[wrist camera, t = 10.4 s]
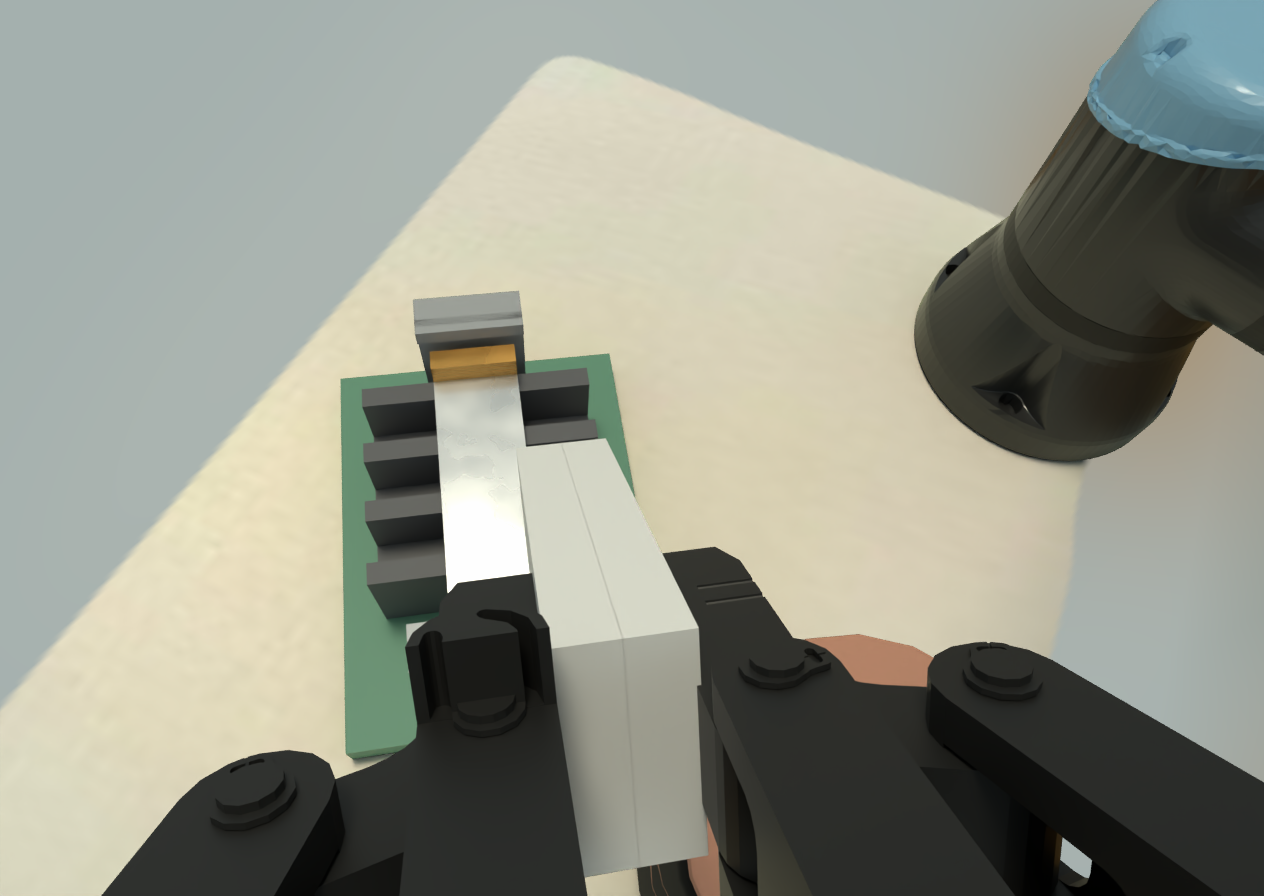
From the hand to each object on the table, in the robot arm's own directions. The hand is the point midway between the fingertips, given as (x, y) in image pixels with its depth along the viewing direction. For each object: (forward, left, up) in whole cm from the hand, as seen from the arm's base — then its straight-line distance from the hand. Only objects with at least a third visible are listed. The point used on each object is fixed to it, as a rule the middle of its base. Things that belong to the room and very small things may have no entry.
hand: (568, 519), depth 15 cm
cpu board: (+2, -12, -30) cm, 32 cm away
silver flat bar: (+2, -11, -24) cm, 26 cm away
